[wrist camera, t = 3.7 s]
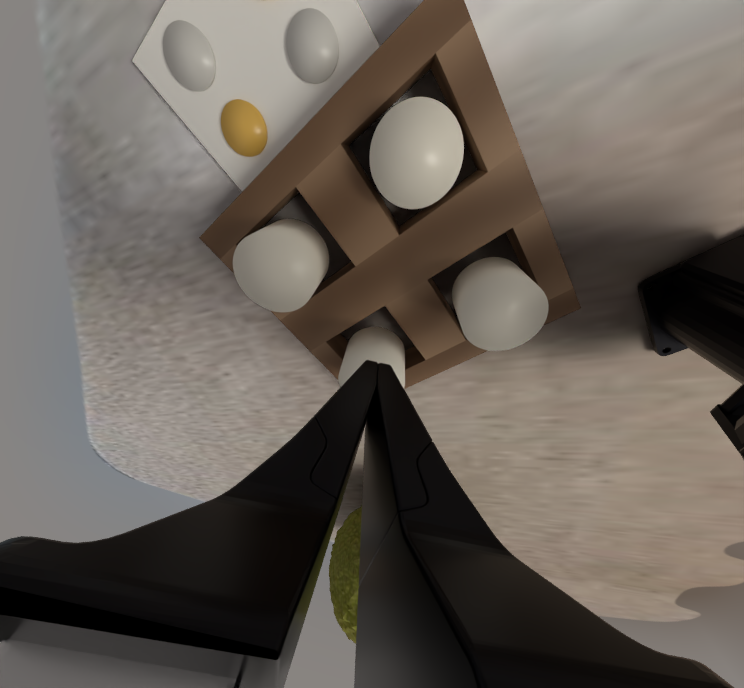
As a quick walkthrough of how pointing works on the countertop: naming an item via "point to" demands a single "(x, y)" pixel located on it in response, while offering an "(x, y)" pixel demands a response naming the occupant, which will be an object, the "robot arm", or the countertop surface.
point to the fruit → (346, 573)
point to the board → (424, 230)
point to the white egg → (416, 152)
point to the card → (252, 70)
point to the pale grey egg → (498, 304)
